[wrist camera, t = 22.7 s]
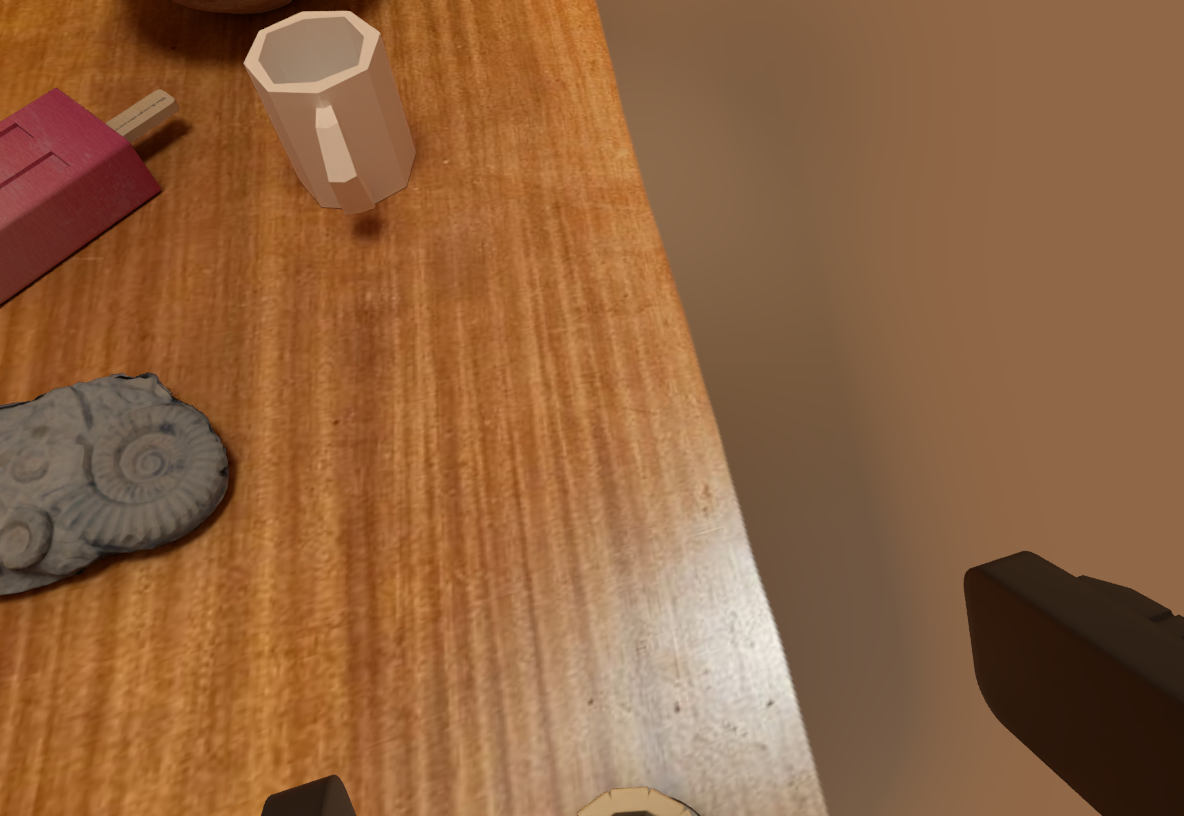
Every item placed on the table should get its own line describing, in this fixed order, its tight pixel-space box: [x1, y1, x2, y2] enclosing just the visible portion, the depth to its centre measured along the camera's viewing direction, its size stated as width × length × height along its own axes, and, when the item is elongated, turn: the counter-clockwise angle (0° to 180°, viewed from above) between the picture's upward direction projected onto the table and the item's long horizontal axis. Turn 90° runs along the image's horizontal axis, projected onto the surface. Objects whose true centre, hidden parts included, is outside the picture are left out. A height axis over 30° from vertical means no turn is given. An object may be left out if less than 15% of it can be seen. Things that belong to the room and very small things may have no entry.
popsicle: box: [0, 88, 180, 304], centre depth 57 cm, size 9×5×20 cm
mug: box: [244, 11, 416, 215], centre depth 54 cm, size 12×9×10 cm
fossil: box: [0, 372, 229, 595], centre depth 45 cm, size 13×18×4 cm
